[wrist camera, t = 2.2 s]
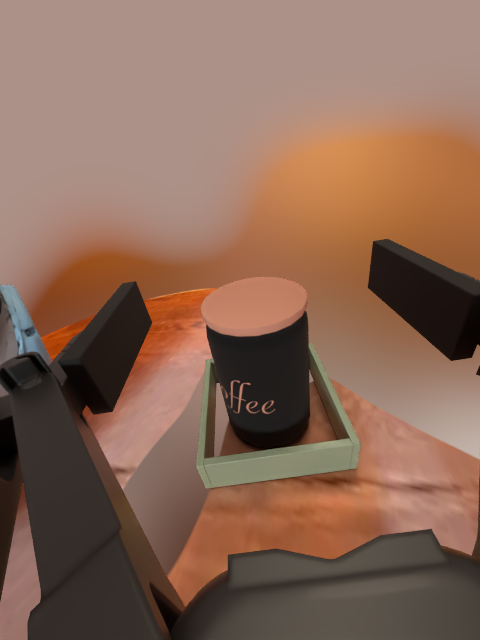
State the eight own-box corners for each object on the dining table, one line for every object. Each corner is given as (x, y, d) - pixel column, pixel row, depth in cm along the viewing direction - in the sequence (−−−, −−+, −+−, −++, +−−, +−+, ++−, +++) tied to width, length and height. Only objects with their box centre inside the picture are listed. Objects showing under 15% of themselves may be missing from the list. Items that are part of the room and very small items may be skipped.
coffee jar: (216, 413, 37) (182, 302, 28) (272, 375, 42) (259, 269, 32) (265, 472, 29) (241, 345, 20) (327, 417, 34) (332, 293, 24)
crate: (205, 489, 29) (195, 466, 26) (211, 380, 43) (205, 359, 40) (357, 468, 28) (361, 444, 26) (312, 365, 42) (312, 343, 40)
